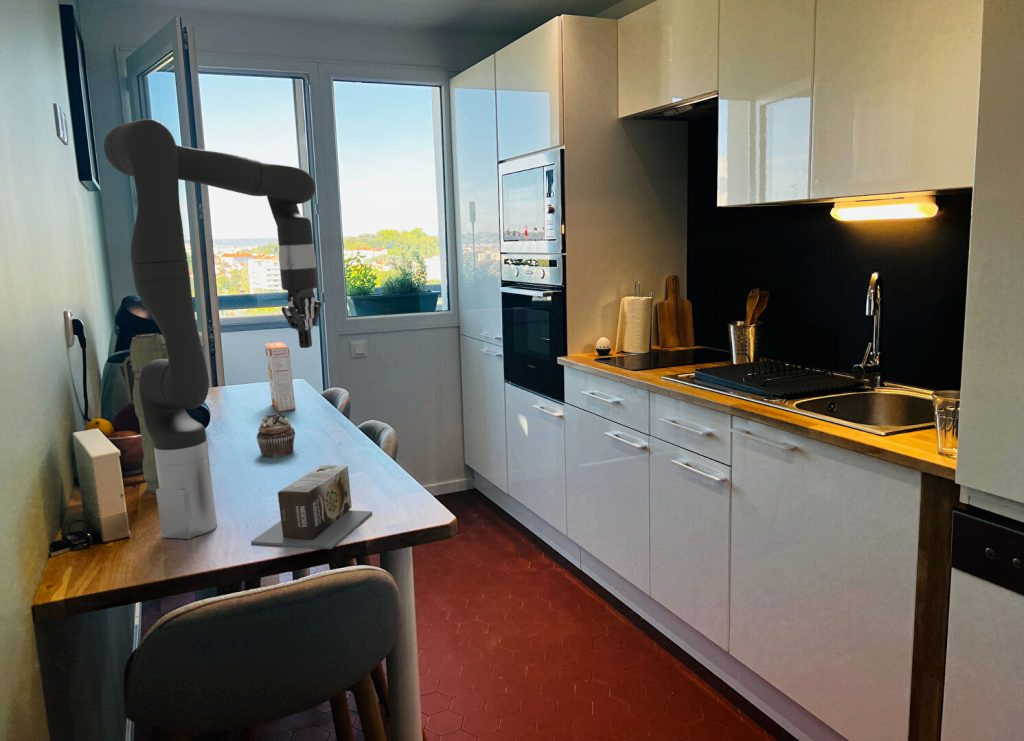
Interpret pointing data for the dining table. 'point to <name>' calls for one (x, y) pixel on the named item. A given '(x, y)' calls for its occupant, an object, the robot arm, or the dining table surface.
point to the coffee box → (314, 502)
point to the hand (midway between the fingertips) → (306, 347)
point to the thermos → (141, 354)
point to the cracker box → (280, 376)
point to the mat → (323, 540)
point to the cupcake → (275, 436)
